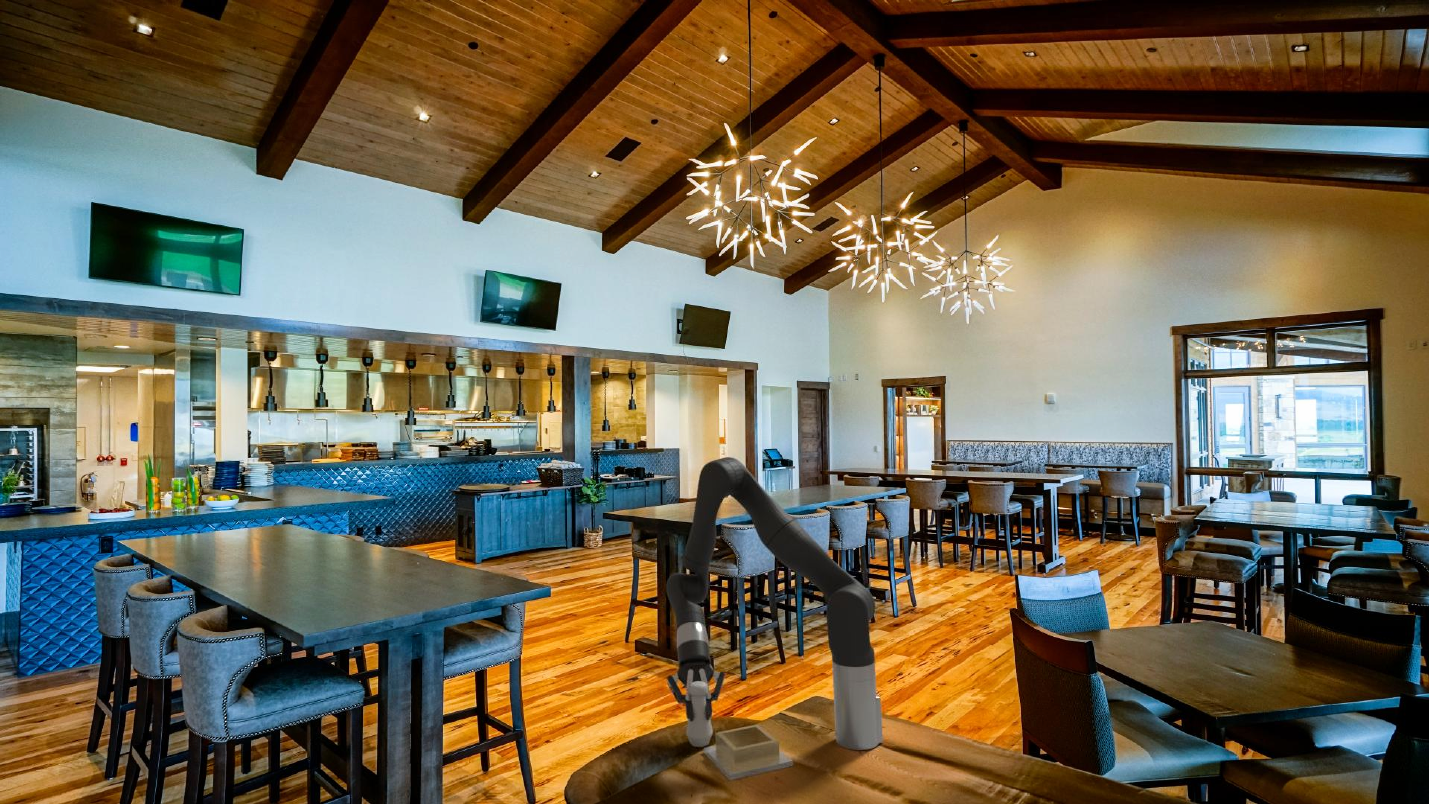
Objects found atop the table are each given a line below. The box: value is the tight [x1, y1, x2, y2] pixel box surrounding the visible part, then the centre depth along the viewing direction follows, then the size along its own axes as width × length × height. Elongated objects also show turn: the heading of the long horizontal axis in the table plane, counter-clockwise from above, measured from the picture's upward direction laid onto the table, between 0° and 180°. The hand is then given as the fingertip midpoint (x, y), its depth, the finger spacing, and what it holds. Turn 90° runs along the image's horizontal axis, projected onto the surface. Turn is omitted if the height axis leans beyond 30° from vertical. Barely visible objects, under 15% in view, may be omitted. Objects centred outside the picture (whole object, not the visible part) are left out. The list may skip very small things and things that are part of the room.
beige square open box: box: [703, 724, 794, 781], centre depth 145 cm, size 14×14×4 cm
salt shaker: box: [685, 681, 714, 748], centre depth 154 cm, size 6×6×13 cm
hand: (700, 718), depth 152 cm, fingers closed on salt shaker, 3 cm apart
